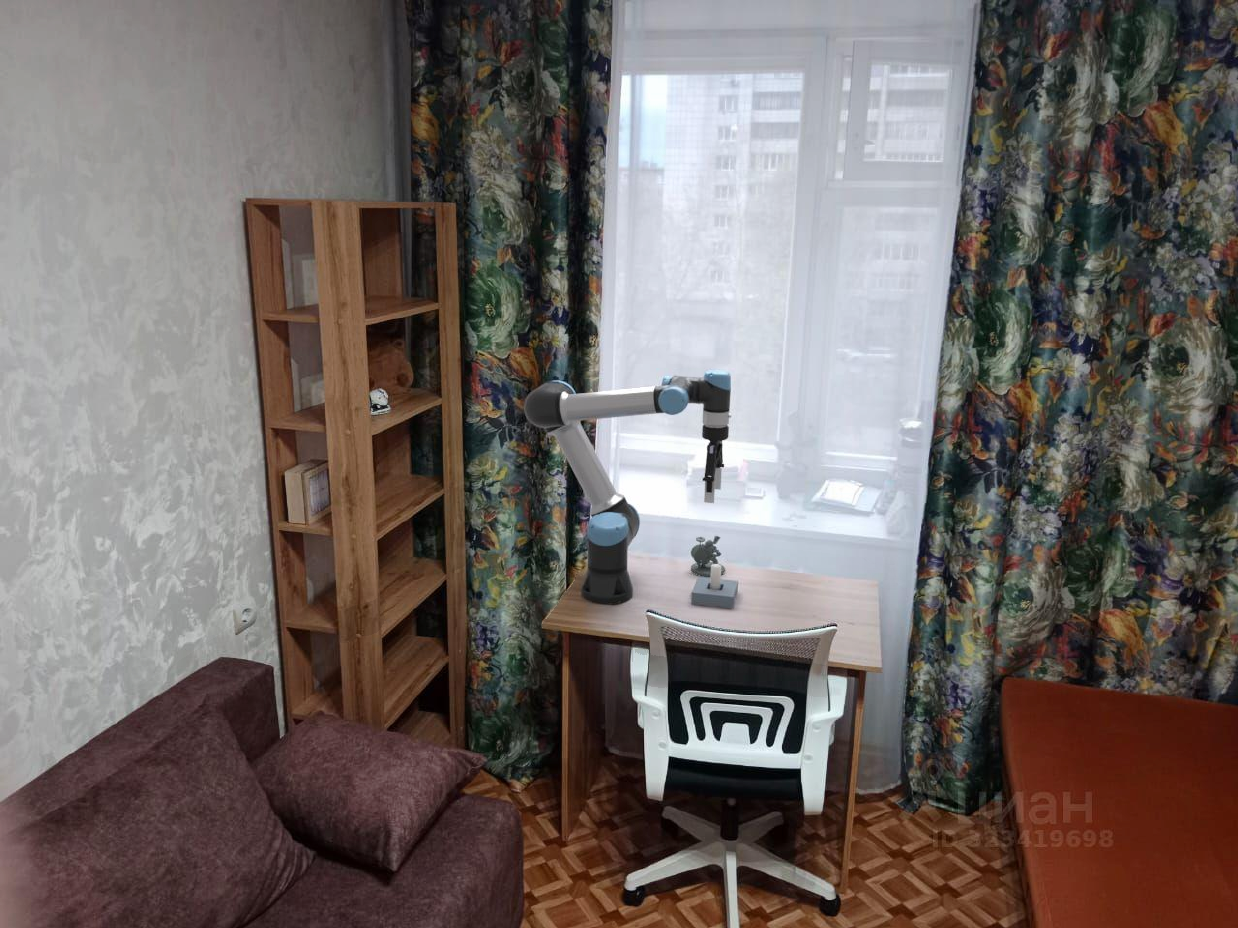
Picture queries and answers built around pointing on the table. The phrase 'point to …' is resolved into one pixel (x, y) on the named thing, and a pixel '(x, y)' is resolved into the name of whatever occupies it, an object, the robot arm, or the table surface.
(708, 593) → the hole block
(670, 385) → the robot arm
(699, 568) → the figurine
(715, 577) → the peg
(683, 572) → the table surface
